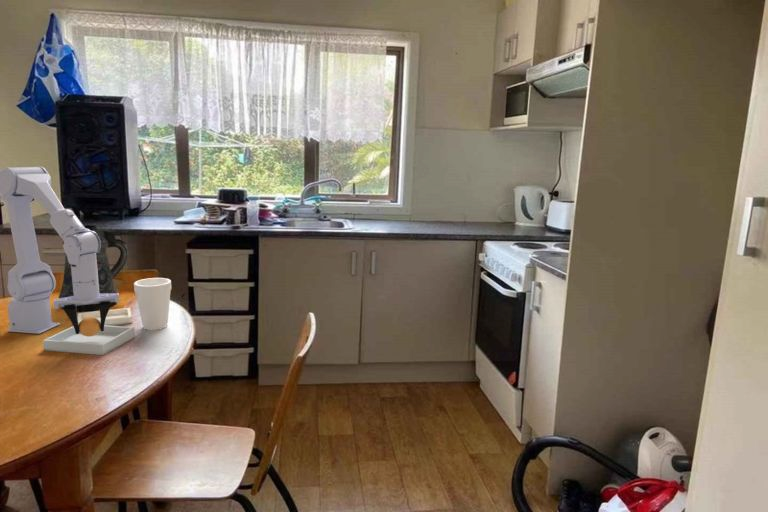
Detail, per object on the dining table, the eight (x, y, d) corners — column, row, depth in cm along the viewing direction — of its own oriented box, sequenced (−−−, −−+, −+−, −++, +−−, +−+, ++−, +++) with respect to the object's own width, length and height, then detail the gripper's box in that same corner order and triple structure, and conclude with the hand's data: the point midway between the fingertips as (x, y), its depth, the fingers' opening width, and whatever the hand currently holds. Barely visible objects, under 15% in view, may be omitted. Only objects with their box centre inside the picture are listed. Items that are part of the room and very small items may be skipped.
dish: (77, 329, 147) (76, 322, 146) (78, 319, 155) (78, 313, 154) (131, 323, 153) (131, 316, 152) (130, 314, 161) (130, 307, 160)
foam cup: (160, 333, 145) (157, 287, 143) (129, 330, 147) (126, 284, 145) (179, 322, 155) (177, 279, 152) (151, 319, 156) (148, 276, 154)
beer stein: (47, 308, 164) (38, 227, 159) (101, 292, 182) (95, 220, 177) (85, 315, 158) (77, 232, 153) (138, 299, 176) (132, 224, 170)
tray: (43, 350, 132) (42, 340, 131) (79, 332, 145) (78, 323, 144) (104, 355, 130) (103, 345, 130) (134, 336, 143) (134, 327, 142)
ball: (74, 338, 135) (73, 319, 134) (88, 331, 140) (86, 313, 139) (93, 339, 134) (91, 321, 133) (105, 333, 139) (104, 314, 138)
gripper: (50, 286, 127) (55, 340, 130) (118, 281, 134) (122, 332, 137) (52, 279, 133) (57, 331, 136) (117, 274, 140) (121, 324, 143)
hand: (90, 331), depth 137 cm, fingers closed on ball, 5 cm apart
